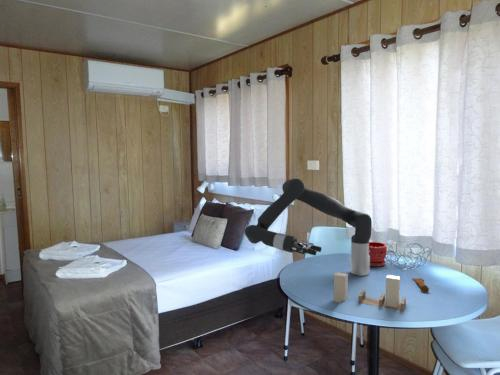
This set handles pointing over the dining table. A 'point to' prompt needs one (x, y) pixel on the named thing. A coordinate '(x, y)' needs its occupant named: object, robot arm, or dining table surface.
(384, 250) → the plant pot
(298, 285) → the dining table surface
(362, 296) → the rack
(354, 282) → the dining table surface
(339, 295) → the beige rectangular block
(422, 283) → the primitive tool
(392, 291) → the tall square post
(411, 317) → the dining table surface
